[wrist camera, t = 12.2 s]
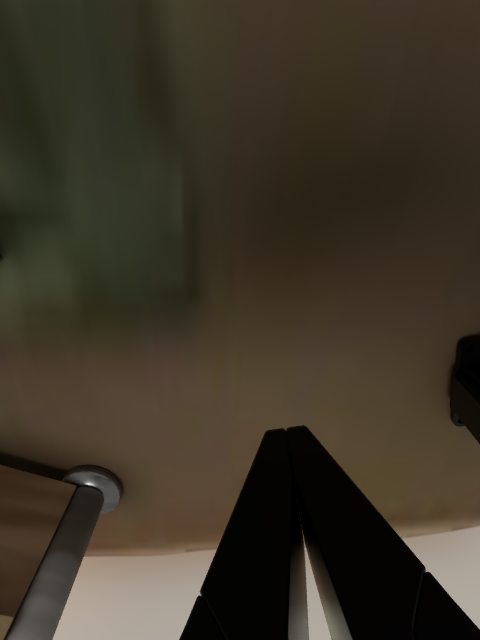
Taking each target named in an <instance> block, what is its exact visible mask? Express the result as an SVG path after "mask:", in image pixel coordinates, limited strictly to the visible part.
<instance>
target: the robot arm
mask: <svg viewBox="0 0 480 640" xmlns="http://www.w3.org/2000/svg"><path fill="white" fill-rule="evenodd" d="M469 345H470V347H469V348H467V349H466V347H467V346H469ZM450 407H451V420H452V422H453V423H454V424H455V425H456V426H466V427H467V429H468V430H469V431H470V432H471V434H472V435H473V436H474V437H475V439H476V440H477V441H478V442H479V444H480V336H477V337H470V338H466V339H463V340H462V341H460V342H459V344H458V347H457V357H456V367H455V373H454V374H453V377H452V387H451V398H450ZM286 433H287V434H286ZM287 439H288V440H287ZM288 445H289V446H288ZM292 470H293V471H292ZM293 476H294V477H293ZM294 482H295V483H294ZM295 488H296V489H295ZM296 494H297V495H296ZM297 500H298V501H297ZM298 506H299V507H298ZM299 512H300V513H299ZM300 518H301V520H300ZM301 524H302V526H301ZM302 530H303V533H302ZM303 535H304V540H305V545H306V549H307V552H308V556H309V560H310V563H311V567H312V571H313V574H314V578H315V581H316V585H317V588H318V592H319V595H320V599H321V603H322V606H323V610H324V613H325V617H326V621H327V624H328V628H329V631H330V635H331V639H332V640H480V629H479V628H478V627H477V626H476V625H475V624H474V623H473V622H472V620H471V619H470V618H469V617H468V616H467V615H466V614H465V613H464V611H463V610H462V609H461V608H460V607H459V606H458V605H457V604H456V602H454V600H453V599H452V598H451V597H450V596H449V594H447V592H446V591H445V590H444V588H443V587H442V586H441V585H440V584H439V583H438V581H437V580H436V579H435V578H434V577H433V575H432V574H431V573H430V572H426V569H425V566H424V565H423V564H422V563H421V562H420V560H419V559H418V558H417V557H416V556H415V554H414V553H413V552H412V551H411V550H410V548H409V547H408V546H407V545H406V544H405V543H404V541H403V540H402V539H401V538H400V537H399V535H398V534H397V533H396V532H395V531H394V530H393V528H392V527H391V526H390V525H389V524H388V522H387V521H386V520H385V519H384V518H383V516H382V515H381V514H380V513H379V512H378V511H377V509H376V508H375V507H374V506H373V505H372V503H371V502H370V501H369V500H368V499H367V498H366V496H365V495H364V494H363V493H362V492H361V490H360V489H359V488H358V487H357V486H356V484H355V483H354V482H353V481H352V480H351V479H350V477H349V476H348V475H347V474H346V473H345V471H344V470H343V469H342V468H341V467H340V466H339V464H338V463H337V462H336V461H335V460H334V458H333V457H332V456H331V455H330V454H329V453H328V451H327V450H326V449H325V448H324V447H323V445H322V444H321V443H320V442H319V441H318V439H317V438H316V437H315V436H314V435H313V434H312V432H311V431H310V430H309V429H308V428H307V427H306V426H304V425H302V426H295V427H289V428H287V430H285V429H283V428H280V429H273V430H268V431H266V432H265V434H264V436H263V439H262V441H261V444H260V446H259V449H258V451H257V453H256V456H255V458H254V461H253V463H252V466H251V468H250V470H249V473H248V475H247V478H246V480H245V483H244V485H243V488H242V490H241V492H240V495H239V497H238V500H237V502H236V505H235V507H234V509H233V512H232V514H231V517H230V519H229V522H228V524H227V526H226V529H225V531H224V534H223V536H222V539H221V541H220V543H219V546H218V548H217V551H216V553H215V556H214V558H213V561H212V563H211V565H210V568H209V570H208V573H207V575H206V578H205V580H204V582H203V585H202V587H201V590H200V594H201V596H198V597H197V599H196V601H195V604H194V606H193V609H192V611H191V614H190V616H189V619H188V621H187V623H186V626H185V628H184V630H183V632H182V635H181V637H180V639H179V640H309V632H308V631H309V630H308V610H307V590H306V572H305V571H306V570H305V552H304V540H303ZM425 572H426V573H425Z"/></svg>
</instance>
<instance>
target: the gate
mask: <svg viewBox="0 0 480 640" xmlns="http://www.w3.org/2000/svg"><path fill="white" fill-rule="evenodd" d="M103 504H104V497H103V495H102V494H101V493H100V492H99V491H98V490H96V489H94V488H90V487H79V488H76V485H72V484H68V483H65V482H61V481H58V480H54V479H50V478H47V477H43V476H39V475H36V474H32V473H28V472H25V471H21V470H17V469H14V468H10V467H6V466H3V465H0V640H52V639H53V636H54V634H55V631H56V628H57V626H58V623H59V620H60V618H61V615H62V612H63V610H64V607H65V604H66V602H67V599H68V597H69V594H70V591H71V588H72V586H73V583H74V581H75V578H76V575H77V573H78V570H79V567H80V565H81V562H82V559H83V557H84V554H85V551H86V549H87V546H88V544H89V541H90V538H91V536H92V533H93V530H94V528H95V525H96V522H97V520H98V517H99V514H100V512H101V509H102V506H103Z"/></svg>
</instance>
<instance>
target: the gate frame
mask: <svg viewBox="0 0 480 640" xmlns="http://www.w3.org/2000/svg"><path fill="white" fill-rule="evenodd" d="M1 260H2V258H1V256H0V261H1ZM61 482H65V483H68V484H72V485H76V488H79V487H90V488H94V489H96V490H98V491H99V492H100V493H101V494H102V495H103V497H104V504H103V506H102V509H101V512H100V514H99V515H104V514H107V513H109V512H111V511H113V510H114V509H115V508H116V507H117V505H118V503H119V500H120V497H121V494H122V485H121V482H120V481H119V479H118V478H117V477H116V476H115V475H114V474H113V473H111V472H110V471H108V470H106V469H103V468H101V467H97V466H90V465H84V466H78V467H75V468H72V469H71V470H69V471H68V472H67V473H66V474H65V475H64V477H63V479H62V481H61Z"/></svg>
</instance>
